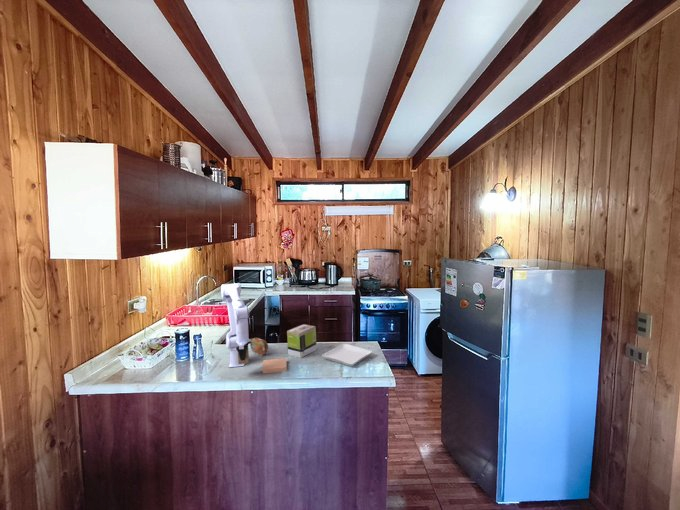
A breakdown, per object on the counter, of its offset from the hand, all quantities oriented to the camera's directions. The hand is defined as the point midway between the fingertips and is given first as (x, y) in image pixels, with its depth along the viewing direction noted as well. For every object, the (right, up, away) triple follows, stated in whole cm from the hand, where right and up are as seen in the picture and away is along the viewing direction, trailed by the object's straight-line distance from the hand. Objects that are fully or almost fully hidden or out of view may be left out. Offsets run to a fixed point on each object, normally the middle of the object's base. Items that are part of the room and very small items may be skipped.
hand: (243, 358), depth 162 cm
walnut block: (0, -2, 0) cm, 2 cm away
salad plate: (+52, -7, +20) cm, 57 cm away
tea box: (+26, -6, +29) cm, 40 cm away
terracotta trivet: (+14, -8, +10) cm, 19 cm away
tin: (+1, -7, +30) cm, 31 cm away
